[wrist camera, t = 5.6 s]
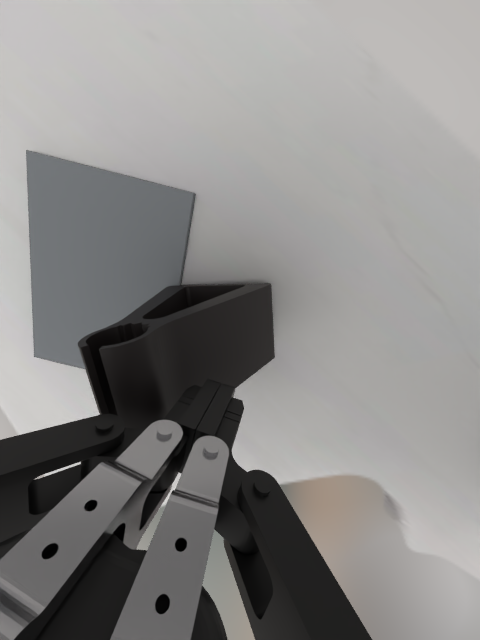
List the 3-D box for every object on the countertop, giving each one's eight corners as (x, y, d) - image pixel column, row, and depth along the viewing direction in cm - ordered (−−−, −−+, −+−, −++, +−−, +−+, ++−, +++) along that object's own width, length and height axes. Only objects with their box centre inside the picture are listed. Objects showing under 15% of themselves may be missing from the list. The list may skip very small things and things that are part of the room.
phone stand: (272, 283, 19) (195, 357, 8) (275, 355, 21) (216, 493, 10) (169, 285, 22) (12, 340, 11) (180, 348, 24) (55, 448, 13)
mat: (195, 194, 20) (193, 192, 19) (164, 384, 26) (162, 387, 25) (32, 152, 20) (26, 149, 19) (39, 354, 25) (34, 356, 25)
